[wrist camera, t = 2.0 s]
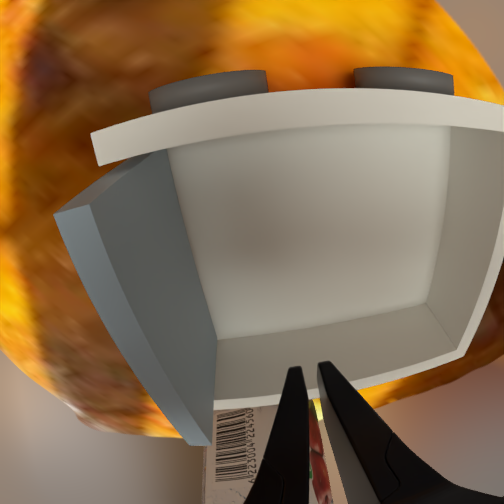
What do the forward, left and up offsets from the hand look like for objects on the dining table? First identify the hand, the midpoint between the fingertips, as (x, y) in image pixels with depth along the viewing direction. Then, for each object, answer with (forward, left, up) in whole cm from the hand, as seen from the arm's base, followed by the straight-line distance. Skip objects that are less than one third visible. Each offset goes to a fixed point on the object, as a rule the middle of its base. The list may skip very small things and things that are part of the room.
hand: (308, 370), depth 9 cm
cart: (-3, 0, -13) cm, 13 cm away
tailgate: (+6, 0, -8) cm, 10 cm away
